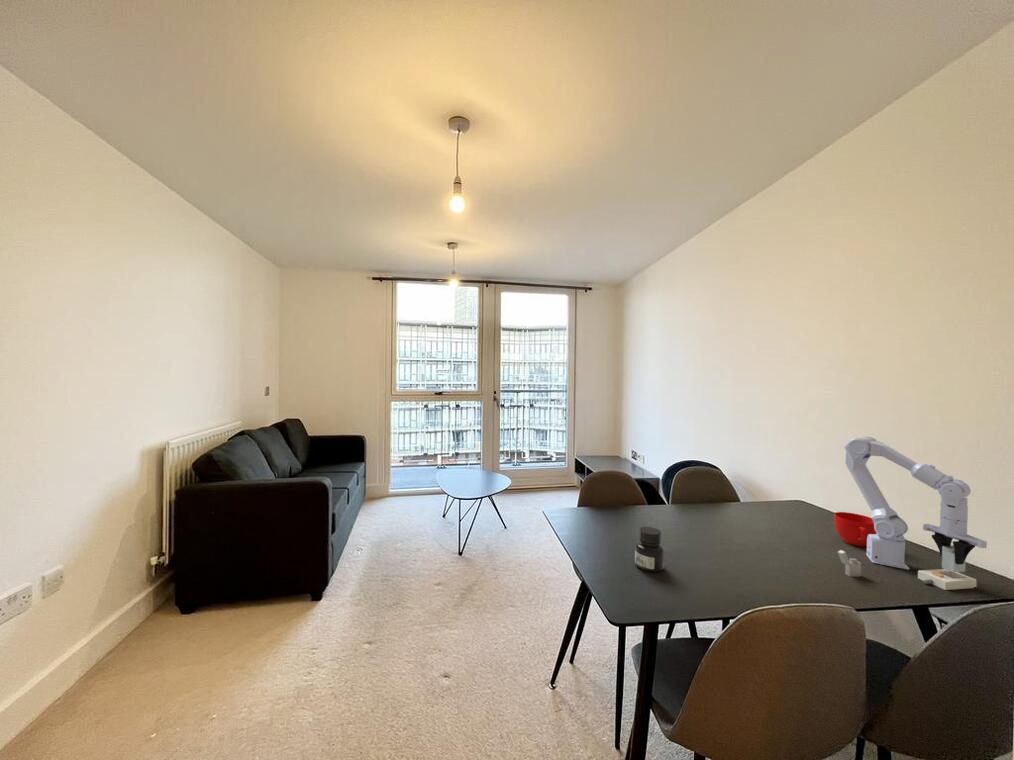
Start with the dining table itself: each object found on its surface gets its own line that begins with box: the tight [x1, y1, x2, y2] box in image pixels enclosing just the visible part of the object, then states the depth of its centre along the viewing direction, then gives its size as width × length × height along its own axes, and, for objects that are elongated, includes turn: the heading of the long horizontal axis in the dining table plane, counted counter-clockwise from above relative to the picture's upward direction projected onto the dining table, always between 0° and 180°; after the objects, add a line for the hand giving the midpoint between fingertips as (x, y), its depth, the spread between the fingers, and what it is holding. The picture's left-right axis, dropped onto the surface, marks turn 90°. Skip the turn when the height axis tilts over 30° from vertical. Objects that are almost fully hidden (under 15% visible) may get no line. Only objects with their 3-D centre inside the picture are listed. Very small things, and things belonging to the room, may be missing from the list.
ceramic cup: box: [833, 511, 876, 547], centre depth 153 cm, size 13×17×10 cm
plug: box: [941, 544, 967, 573], centre depth 125 cm, size 4×3×7 cm, turn 99°
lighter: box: [837, 549, 862, 578], centre depth 128 cm, size 7×2×8 cm, turn 96°
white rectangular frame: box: [917, 568, 977, 591], centre depth 124 cm, size 14×7×3 cm, turn 99°
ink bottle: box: [634, 526, 665, 573], centre depth 130 cm, size 10×9×12 cm
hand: (952, 561), depth 125 cm, fingers closed on plug, 3 cm apart
